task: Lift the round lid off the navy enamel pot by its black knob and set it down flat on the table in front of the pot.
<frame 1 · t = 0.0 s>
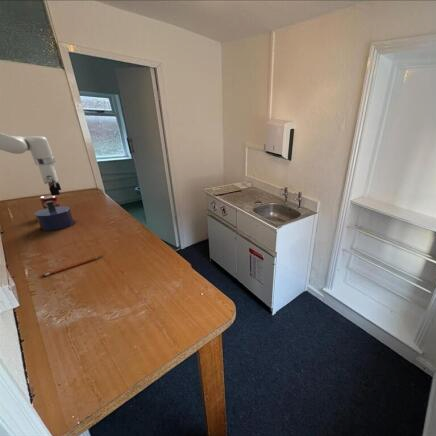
hand: (56, 192, 128), 20 cm above the table, tool pointing down, fingers open, 9 cm apart
lid: (53, 211, 131), point 8 cm above the table, touching pot
pot: (58, 225, 134), on the table
soda can: (54, 215, 147), on the table
pencil: (73, 267, 100), on the table
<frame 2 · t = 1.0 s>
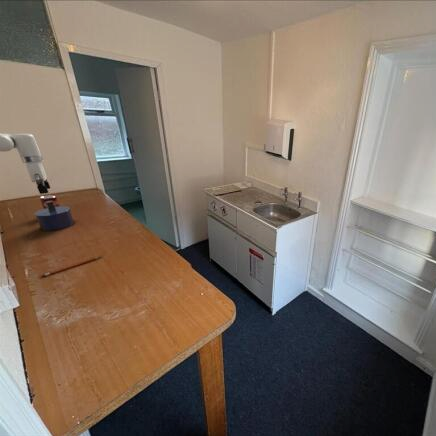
hand: (45, 191, 126), 21 cm above the table, tool pointing down, fingers open, 9 cm apart
nothing on the table moved.
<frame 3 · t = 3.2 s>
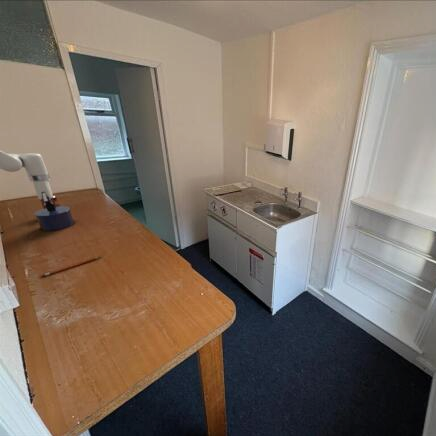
hand: (52, 209, 130), 10 cm above the table, tool pointing down, fingers closed on lid, 3 cm apart
lid: (53, 211, 131), point 9 cm above the table, touching gripper, pot
everything else where it was.
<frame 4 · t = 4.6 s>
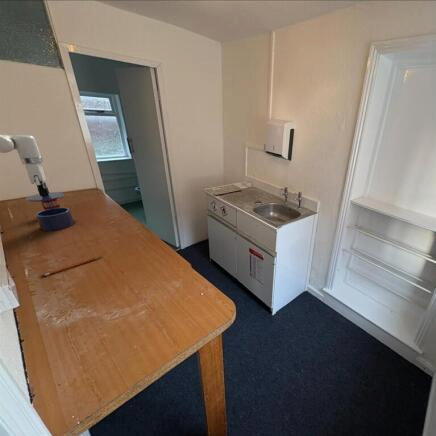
hand: (44, 194, 126), 19 cm above the table, tool pointing down, fingers closed on lid, 3 cm apart
lid: (45, 197, 127), point 17 cm above the table, touching gripper
everything else where it was.
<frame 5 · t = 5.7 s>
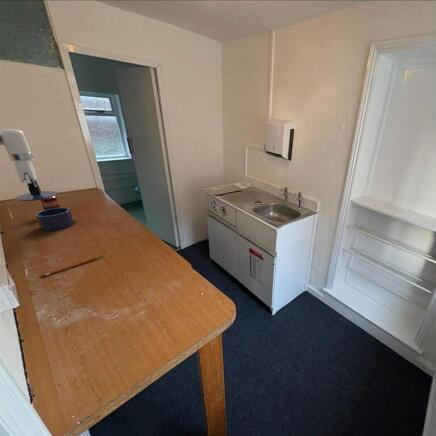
hand: (36, 193, 118), 22 cm above the table, tool pointing down, fingers closed on lid, 3 cm apart
lid: (37, 196, 119), point 21 cm above the table, touching gripper
everything else where it was.
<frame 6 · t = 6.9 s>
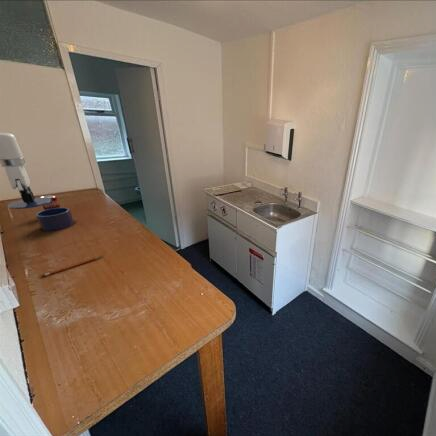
hand: (29, 200, 111), 21 cm above the table, tool pointing down, fingers closed on lid, 3 cm apart
lid: (30, 203, 112), point 20 cm above the table, touching gripper
everything else where it was.
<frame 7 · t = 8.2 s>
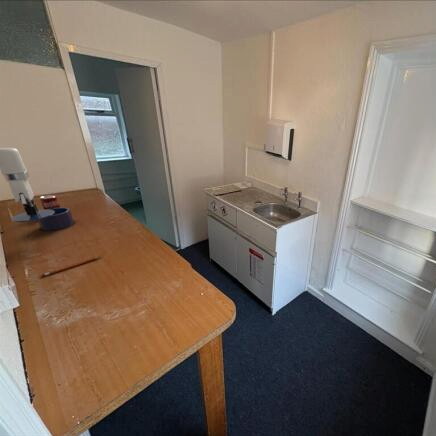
hand: (33, 213, 112), 15 cm above the table, tool pointing down, fingers closed on lid, 3 cm apart
lid: (34, 216, 113), point 14 cm above the table, touching gripper
everything else where it was.
when the fingers open (2 cm above the table, at t = 11.2 s): lid stays where it is, point 1 cm above the table.
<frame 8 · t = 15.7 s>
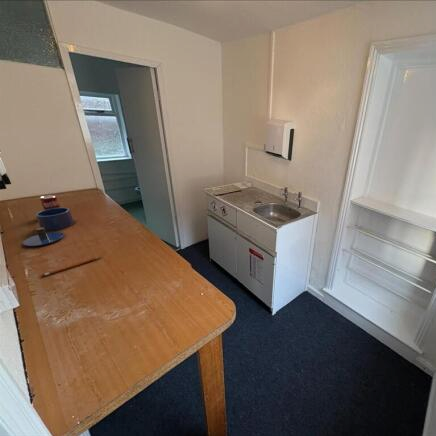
hand: (4, 186, 112), 26 cm above the table, tool pointing down, fingers open, 9 cm apart
lid: (44, 239, 118), point 1 cm above the table
everything else where it was.
at the end: lid point 0.6 cm above the table; lid inside the target area on the table beside the pot (0.1 cm from its centre), point 0.6 cm above the table; lid tilted 0° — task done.
